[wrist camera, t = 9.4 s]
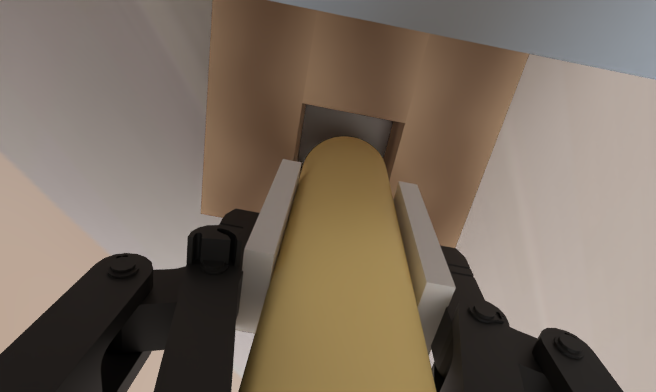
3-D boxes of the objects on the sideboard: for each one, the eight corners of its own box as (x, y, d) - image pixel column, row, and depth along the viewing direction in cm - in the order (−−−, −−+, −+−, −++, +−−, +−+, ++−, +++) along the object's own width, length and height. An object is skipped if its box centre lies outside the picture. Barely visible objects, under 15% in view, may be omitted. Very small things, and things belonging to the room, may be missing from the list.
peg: (309, 128, 18) (217, 414, 6) (396, 145, 18) (502, 462, 6) (295, 207, 20) (202, 563, 7) (375, 222, 20) (422, 596, 7)
